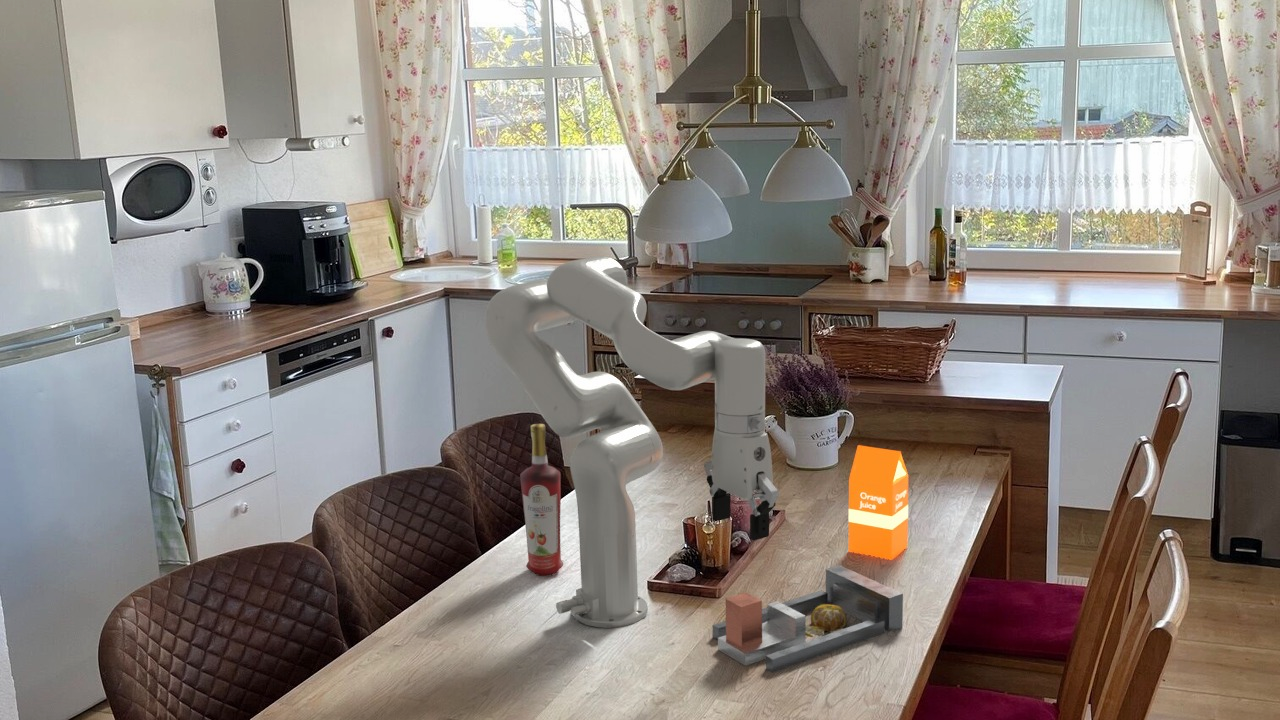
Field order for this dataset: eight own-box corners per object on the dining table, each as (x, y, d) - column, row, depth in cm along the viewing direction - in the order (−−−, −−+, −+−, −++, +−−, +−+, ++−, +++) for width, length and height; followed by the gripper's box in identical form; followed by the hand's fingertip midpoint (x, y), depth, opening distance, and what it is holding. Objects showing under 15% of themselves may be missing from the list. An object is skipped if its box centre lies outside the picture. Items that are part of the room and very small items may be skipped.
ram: (745, 665, 189) (744, 611, 187) (718, 649, 195) (717, 596, 193) (805, 645, 195) (805, 591, 193) (777, 629, 201) (777, 577, 199)
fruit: (803, 640, 198) (803, 619, 197) (803, 618, 206) (803, 598, 205) (855, 642, 197) (855, 621, 196) (853, 620, 205) (853, 599, 204)
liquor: (523, 579, 225) (515, 431, 219) (527, 564, 233) (520, 420, 227) (563, 578, 225) (556, 430, 219) (566, 563, 232) (560, 419, 226)
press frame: (772, 674, 187) (772, 637, 185) (712, 638, 199) (712, 604, 198) (902, 628, 201) (902, 593, 200) (838, 597, 213) (839, 565, 212)
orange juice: (864, 538, 240) (865, 439, 236) (907, 547, 235) (909, 446, 231) (847, 551, 234) (848, 450, 230) (891, 560, 229) (893, 457, 225)
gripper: (796, 430, 181) (795, 540, 185) (726, 405, 195) (726, 507, 199) (755, 439, 177) (755, 551, 181) (686, 412, 191) (687, 517, 195)
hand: (740, 528), depth 190 cm, fingers open, 9 cm apart
